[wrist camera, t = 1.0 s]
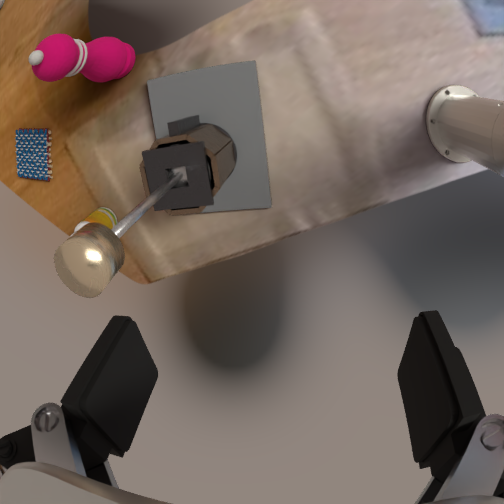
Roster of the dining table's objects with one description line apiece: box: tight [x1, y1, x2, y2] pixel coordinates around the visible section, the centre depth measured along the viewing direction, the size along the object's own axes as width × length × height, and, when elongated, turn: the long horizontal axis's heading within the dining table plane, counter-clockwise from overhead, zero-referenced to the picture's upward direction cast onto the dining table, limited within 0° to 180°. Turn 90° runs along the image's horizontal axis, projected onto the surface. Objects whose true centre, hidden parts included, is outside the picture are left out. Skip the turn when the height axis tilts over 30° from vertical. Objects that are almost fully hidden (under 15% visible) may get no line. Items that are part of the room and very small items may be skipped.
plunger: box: [54, 144, 211, 298], centre depth 25 cm, size 7×7×20 cm
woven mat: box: [15, 128, 53, 181], centre depth 45 cm, size 10×11×2 cm
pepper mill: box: [29, 34, 135, 82], centre depth 29 cm, size 7×7×20 cm
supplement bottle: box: [70, 207, 118, 237], centre depth 47 cm, size 5×5×10 cm
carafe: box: [140, 115, 237, 215], centre depth 37 cm, size 10×11×12 cm
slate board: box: [147, 61, 272, 213], centre depth 42 cm, size 16×22×1 cm
